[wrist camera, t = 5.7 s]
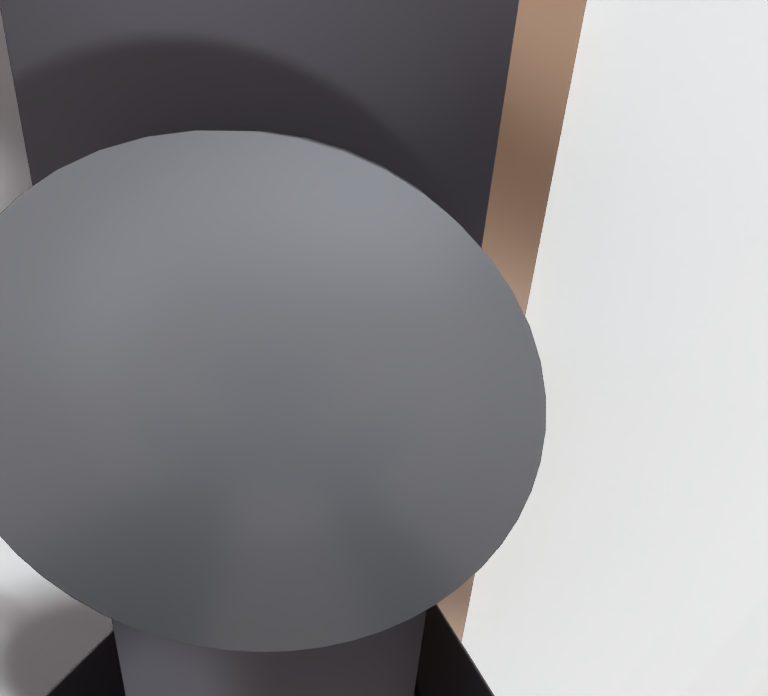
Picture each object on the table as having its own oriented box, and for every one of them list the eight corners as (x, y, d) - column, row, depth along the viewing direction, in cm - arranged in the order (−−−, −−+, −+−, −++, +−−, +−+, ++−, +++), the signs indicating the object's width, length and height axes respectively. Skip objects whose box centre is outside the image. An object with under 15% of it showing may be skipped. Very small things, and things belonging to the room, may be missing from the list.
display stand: (451, 622, 20) (478, 772, 15) (185, 616, 19) (128, 772, 14) (561, 11, 12) (687, -66, 7) (117, -34, 11) (-55, -149, 7)
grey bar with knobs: (377, 781, 14) (385, 1119, 9) (226, 781, 13) (154, 1129, 9) (475, -20, 7) (734, -365, 2) (165, -52, 6) (-351, -536, 2)
